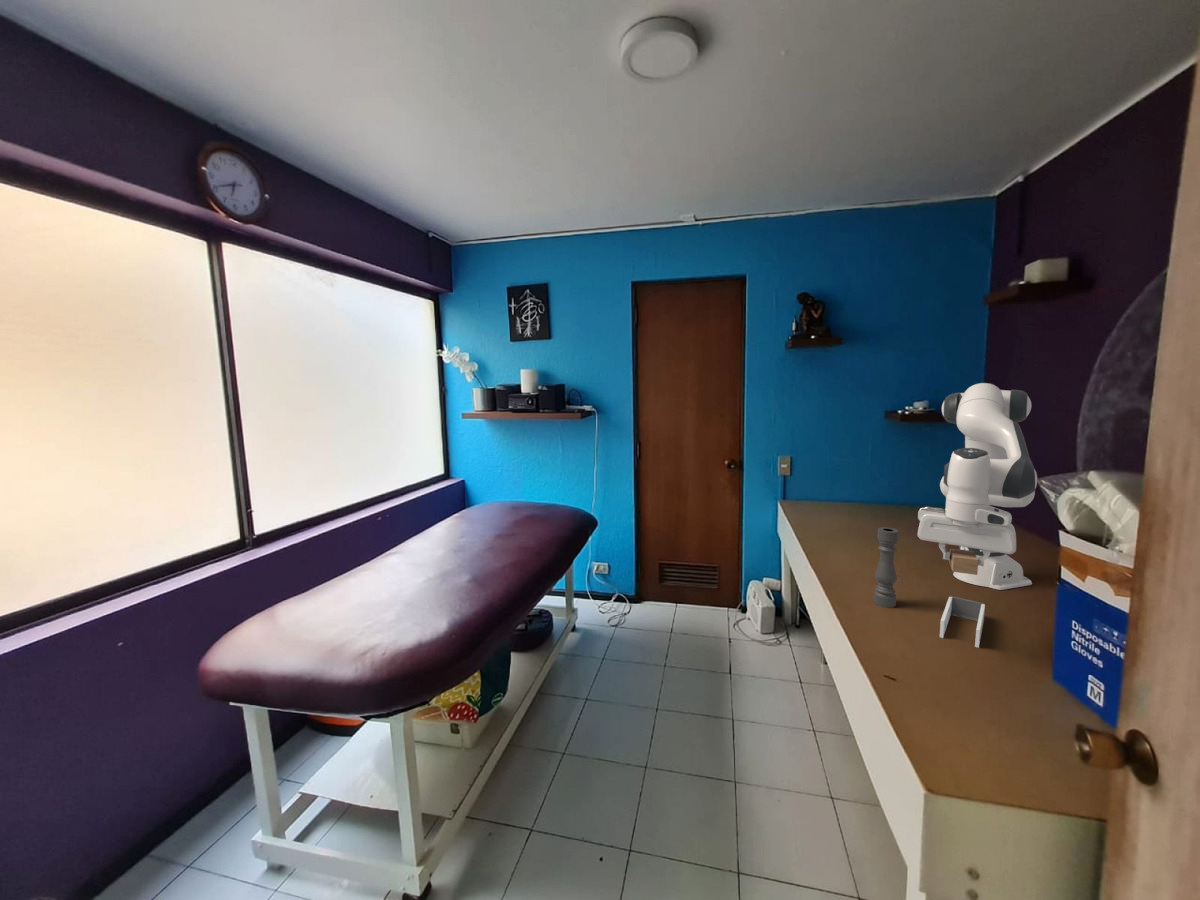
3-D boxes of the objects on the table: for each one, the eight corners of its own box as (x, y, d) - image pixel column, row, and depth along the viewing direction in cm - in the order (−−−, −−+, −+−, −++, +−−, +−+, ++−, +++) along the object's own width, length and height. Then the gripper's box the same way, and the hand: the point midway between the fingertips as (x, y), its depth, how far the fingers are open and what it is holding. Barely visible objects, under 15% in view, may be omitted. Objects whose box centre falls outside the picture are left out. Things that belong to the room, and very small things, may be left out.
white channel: (948, 610, 144) (949, 595, 144) (983, 619, 139) (985, 603, 138) (939, 637, 130) (940, 620, 129) (978, 647, 124) (980, 630, 123)
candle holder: (888, 609, 147) (892, 534, 143) (869, 601, 152) (872, 529, 149) (899, 604, 149) (903, 530, 146) (880, 597, 155) (884, 526, 152)
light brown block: (948, 562, 125) (949, 548, 125) (972, 565, 123) (973, 551, 122) (952, 571, 119) (953, 557, 119) (977, 574, 117) (978, 559, 116)
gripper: (916, 508, 124) (913, 556, 126) (1018, 520, 110) (1014, 575, 112) (920, 503, 128) (917, 550, 130) (1019, 514, 114) (1014, 567, 116)
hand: (963, 562), depth 121 cm, fingers closed on light brown block, 5 cm apart
